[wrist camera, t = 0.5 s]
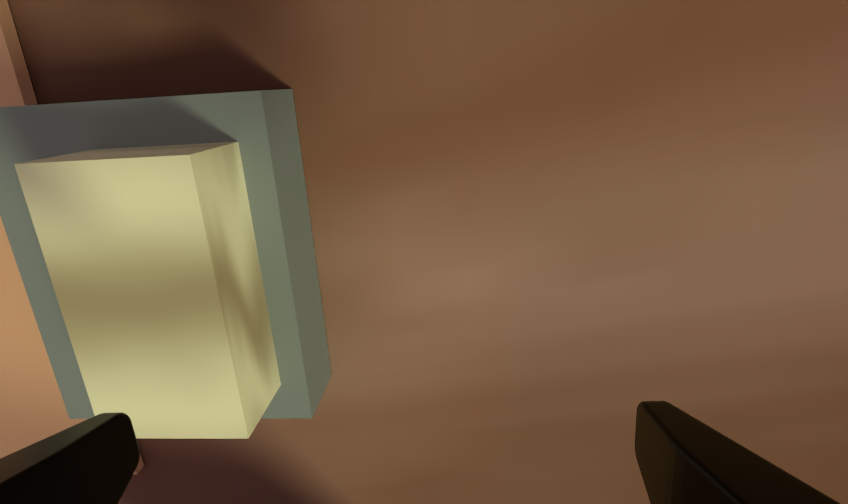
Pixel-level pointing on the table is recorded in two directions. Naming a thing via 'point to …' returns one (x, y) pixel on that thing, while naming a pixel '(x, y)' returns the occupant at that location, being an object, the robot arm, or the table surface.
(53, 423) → the mat
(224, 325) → the birch block
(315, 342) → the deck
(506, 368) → the table surface
